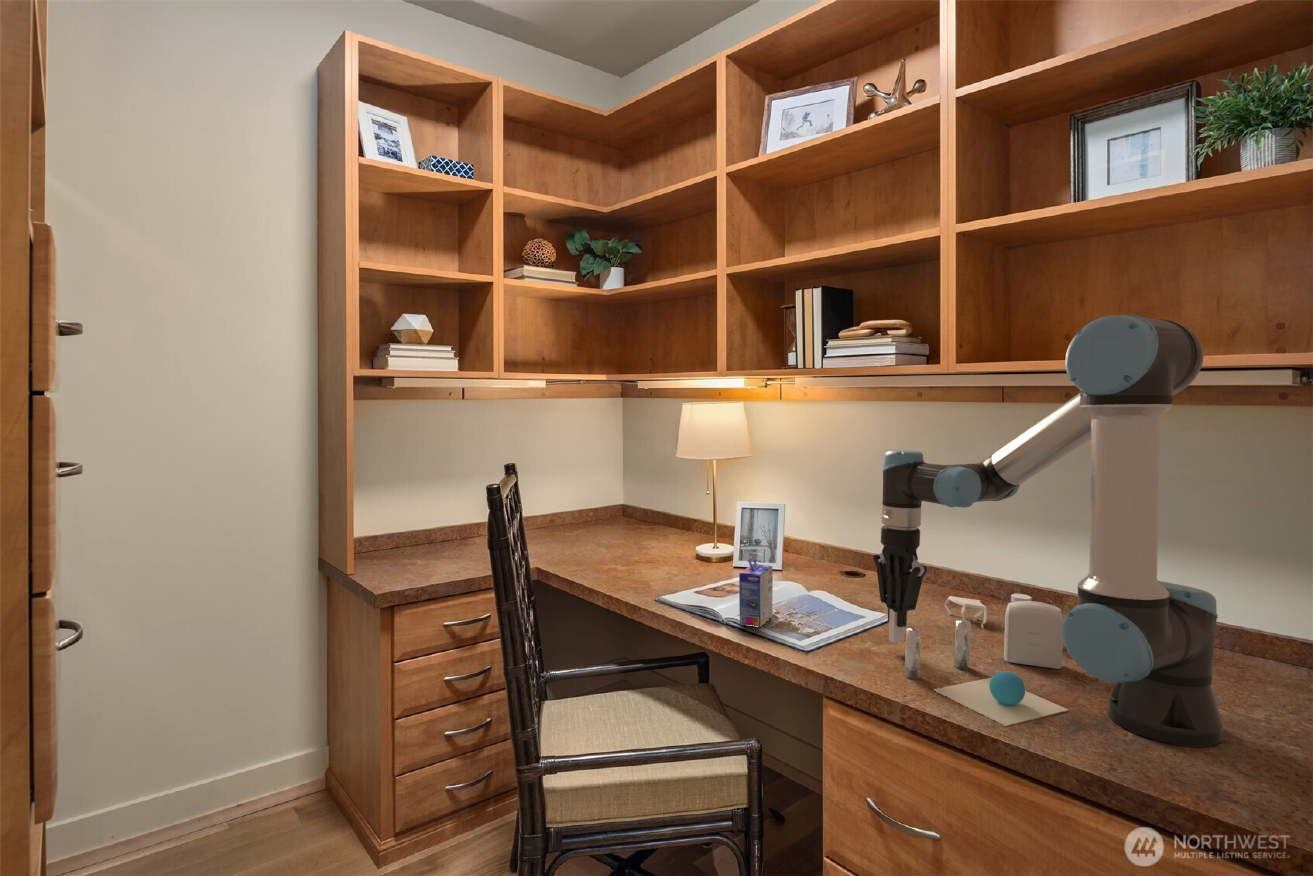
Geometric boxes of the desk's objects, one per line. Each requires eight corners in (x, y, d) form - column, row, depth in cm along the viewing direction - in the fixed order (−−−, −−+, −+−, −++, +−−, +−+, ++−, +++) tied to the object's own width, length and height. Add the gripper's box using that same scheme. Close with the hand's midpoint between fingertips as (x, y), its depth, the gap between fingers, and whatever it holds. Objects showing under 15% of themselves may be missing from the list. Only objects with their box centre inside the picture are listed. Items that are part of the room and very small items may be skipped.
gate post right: (971, 668, 139) (973, 622, 139) (961, 670, 138) (963, 624, 138) (960, 663, 142) (962, 618, 141) (951, 665, 141) (953, 620, 140)
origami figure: (999, 623, 168) (1000, 602, 168) (984, 631, 162) (985, 609, 162) (948, 611, 177) (949, 591, 177) (932, 618, 171) (933, 597, 171)
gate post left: (922, 677, 134) (924, 630, 134) (911, 679, 133) (913, 632, 133) (912, 672, 137) (913, 626, 136) (901, 674, 135) (903, 627, 135)
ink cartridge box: (750, 613, 172) (752, 553, 171) (773, 617, 170) (774, 556, 169) (737, 625, 163) (738, 562, 162) (760, 629, 161) (762, 565, 160)
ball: (1036, 681, 121) (1009, 663, 126) (1012, 686, 119) (986, 667, 124) (1028, 709, 123) (1001, 690, 127) (1005, 714, 120) (979, 695, 125)
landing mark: (1068, 710, 121) (1068, 709, 121) (1005, 726, 115) (1005, 725, 115) (993, 678, 135) (993, 677, 135) (933, 690, 128) (933, 689, 128)
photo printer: (1003, 663, 143) (1006, 601, 142) (1002, 656, 146) (1005, 596, 146) (1062, 672, 138) (1066, 608, 138) (1060, 664, 142) (1063, 602, 142)
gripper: (864, 522, 150) (860, 633, 152) (910, 533, 138) (905, 654, 140) (892, 520, 153) (888, 628, 155) (939, 531, 141) (934, 648, 143)
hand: (896, 640), depth 147 cm, fingers closed
